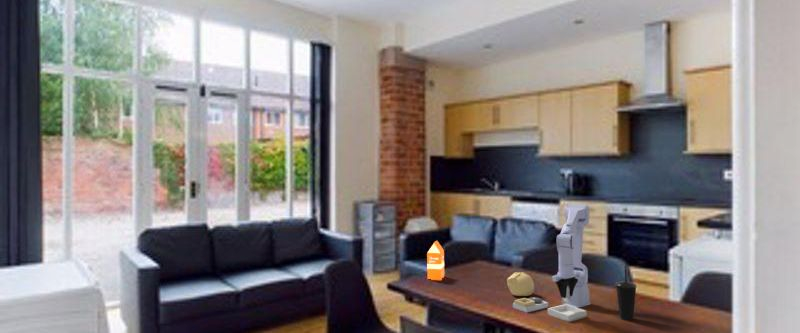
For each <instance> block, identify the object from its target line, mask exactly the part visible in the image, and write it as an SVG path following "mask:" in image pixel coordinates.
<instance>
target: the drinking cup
mask: <svg viewBox="0 0 800 333" xmlns="http://www.w3.org/2000/svg"><path fill="white" fill-rule="evenodd" d="M627 270H628V269H627V268H625V267H624V280H621V281H617V282H616V283H615V284H614V285H615V286H616V295H617V304H618V312H619V319H621V320H623V321H633V320H634V315H635V314H634V313H635V304H636V289H637V287H638V286H637V284H636V283H634V282H631V281H628V272H627Z"/></svg>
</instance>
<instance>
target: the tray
mask: <svg viewBox="0 0 800 333" xmlns="http://www.w3.org/2000/svg"><path fill="white" fill-rule="evenodd" d="M547 316H550V317H553V318H556V319H559V320H561V321H564V322H567V323H570V322H571V323H572V322H574V321H578V320H580V319H581V320H582V319H584V318H587V310H586V309H583V308H580V307H579V308H576V307H573V306H570V305H567V304H563V303H562V304H560V305H556V306H552V307H547Z"/></svg>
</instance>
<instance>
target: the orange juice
mask: <svg viewBox="0 0 800 333" xmlns="http://www.w3.org/2000/svg"><path fill="white" fill-rule="evenodd" d="M426 257H427V258H426V261H427V262H426V266H427V267H426V269H427V280H428V279H431V280H430V281H442V280H443V279H444V277H445V250H444V249H443V247H442V245H441V244H440V242H439V241H438V240H436V241H434V242H433V244H432V245H431V247H430V248H429V250H428V251H427V253H426ZM442 278H443V279H442Z"/></svg>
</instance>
